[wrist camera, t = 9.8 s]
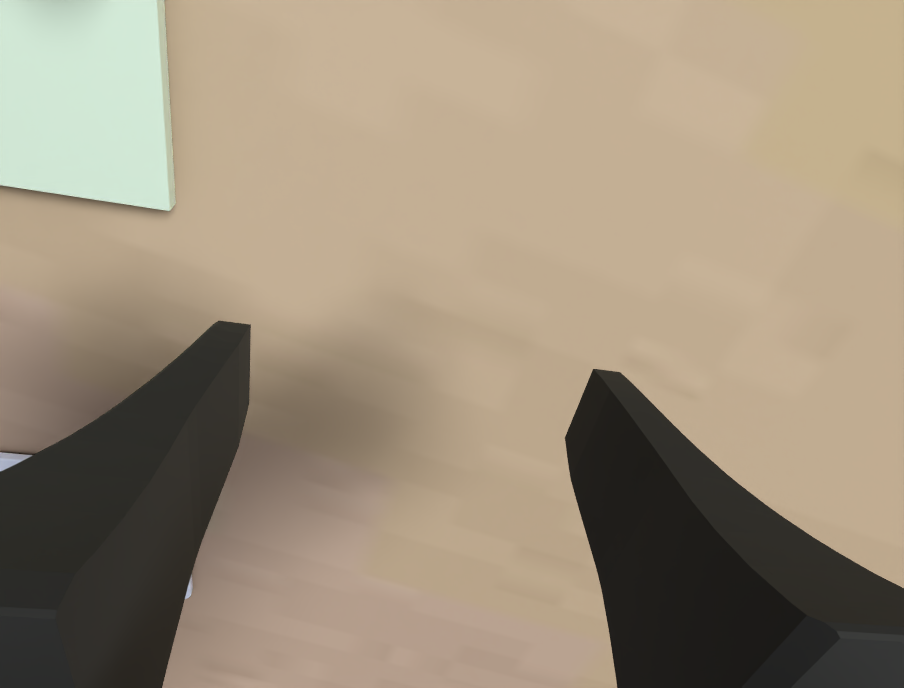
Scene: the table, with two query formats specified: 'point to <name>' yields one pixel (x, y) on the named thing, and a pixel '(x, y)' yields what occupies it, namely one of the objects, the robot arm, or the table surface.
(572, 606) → the table surface
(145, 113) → the tub lid
